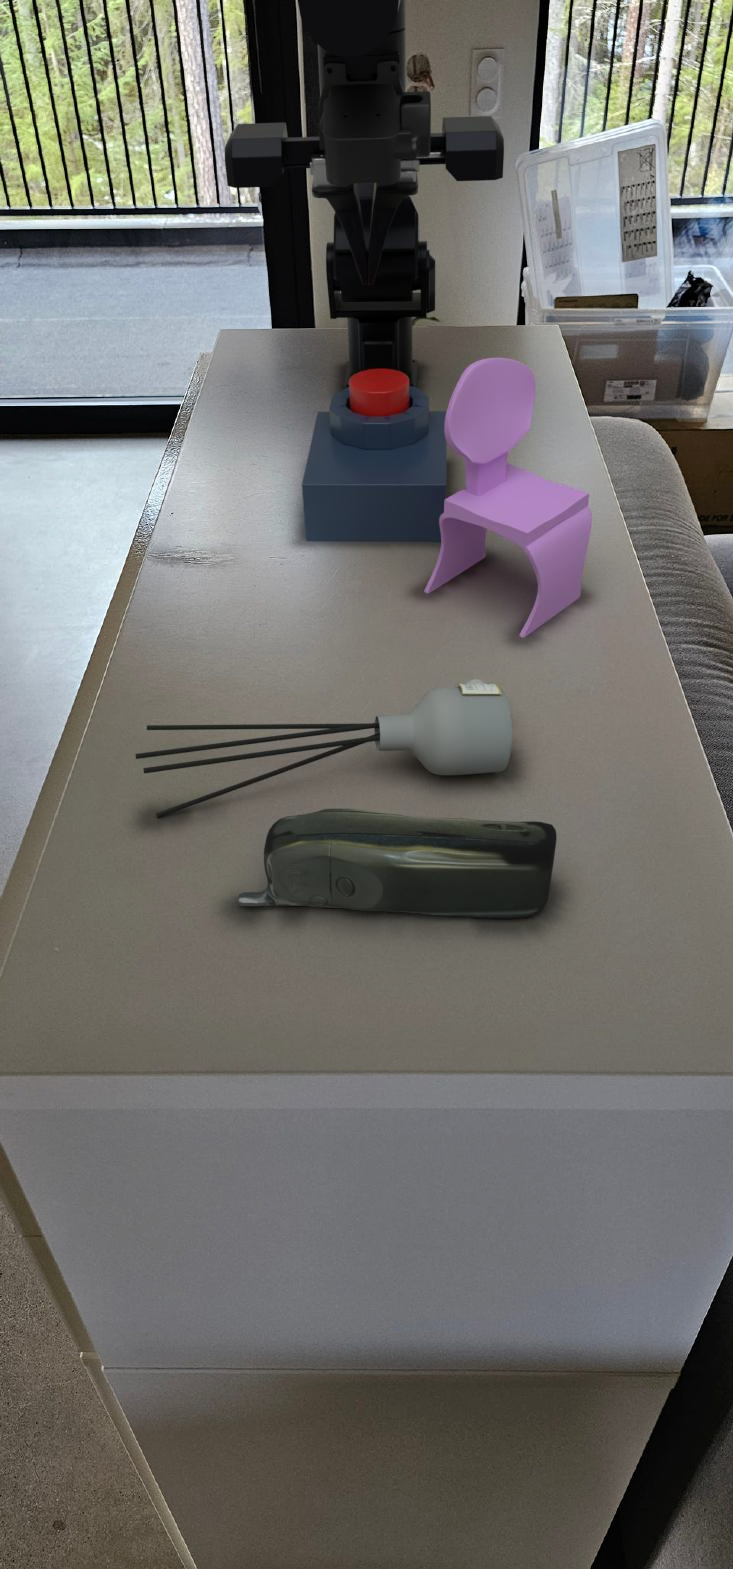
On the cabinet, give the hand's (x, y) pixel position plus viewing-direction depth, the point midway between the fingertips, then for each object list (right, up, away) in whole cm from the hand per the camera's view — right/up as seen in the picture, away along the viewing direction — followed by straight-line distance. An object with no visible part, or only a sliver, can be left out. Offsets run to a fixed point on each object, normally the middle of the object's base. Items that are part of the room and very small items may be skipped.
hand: (367, 283), depth 81 cm
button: (+1, -9, 0) cm, 9 cm away
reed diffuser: (-2, -37, -21) cm, 42 cm away
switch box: (+1, -16, +2) cm, 16 cm away
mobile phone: (+1, -43, -28) cm, 51 cm away
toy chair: (+9, -25, -8) cm, 28 cm away
